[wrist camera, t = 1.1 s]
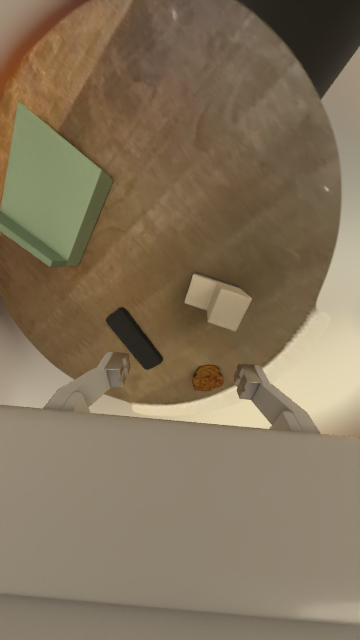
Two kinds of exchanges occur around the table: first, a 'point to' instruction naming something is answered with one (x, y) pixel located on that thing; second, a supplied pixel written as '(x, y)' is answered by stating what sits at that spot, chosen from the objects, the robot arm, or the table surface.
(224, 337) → the table surface
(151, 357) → the remote control
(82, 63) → the table surface
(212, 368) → the leaf
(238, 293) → the beige stepped block
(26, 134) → the green l-shaped bracket
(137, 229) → the table surface
